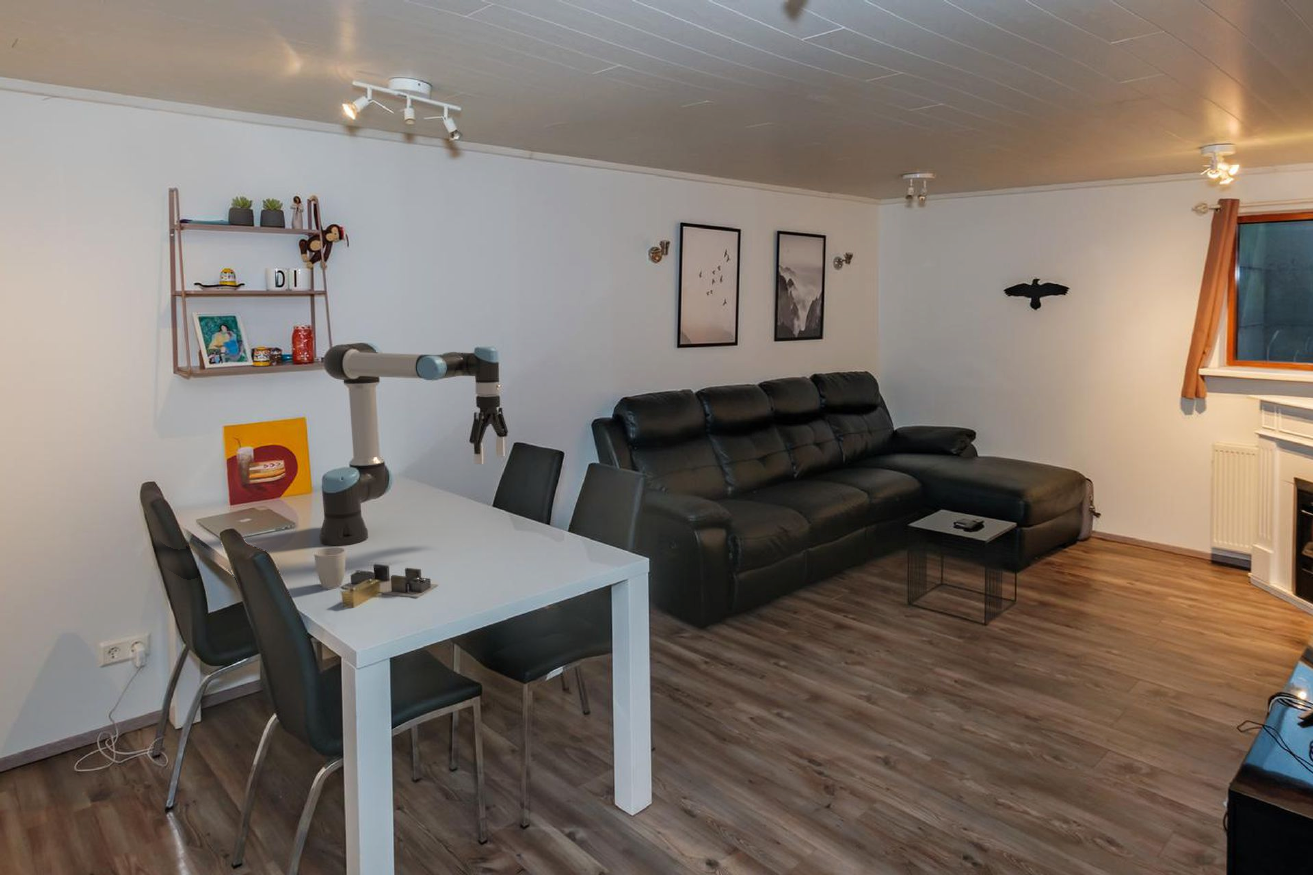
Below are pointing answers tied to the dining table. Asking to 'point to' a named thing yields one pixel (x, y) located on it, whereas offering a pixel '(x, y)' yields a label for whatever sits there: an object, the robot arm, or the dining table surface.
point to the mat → (386, 589)
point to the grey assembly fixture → (394, 579)
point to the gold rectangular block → (361, 593)
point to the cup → (330, 566)
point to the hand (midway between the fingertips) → (490, 460)
